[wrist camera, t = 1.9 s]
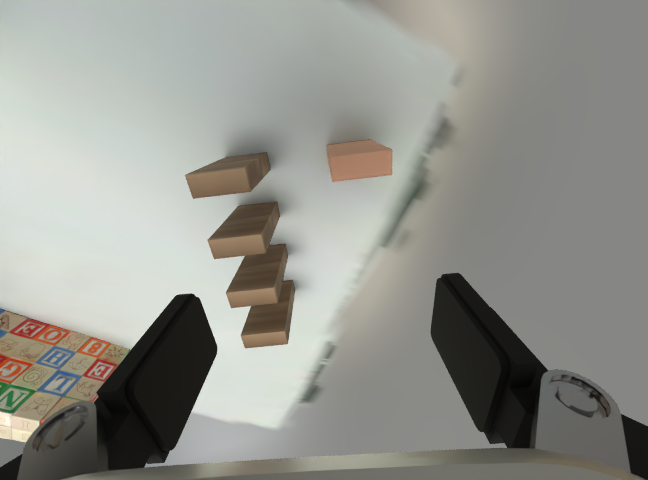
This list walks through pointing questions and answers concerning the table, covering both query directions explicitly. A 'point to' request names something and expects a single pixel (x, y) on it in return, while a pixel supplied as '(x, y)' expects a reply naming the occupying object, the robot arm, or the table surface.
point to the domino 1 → (228, 175)
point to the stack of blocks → (47, 371)
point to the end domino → (359, 160)
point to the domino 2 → (245, 231)
